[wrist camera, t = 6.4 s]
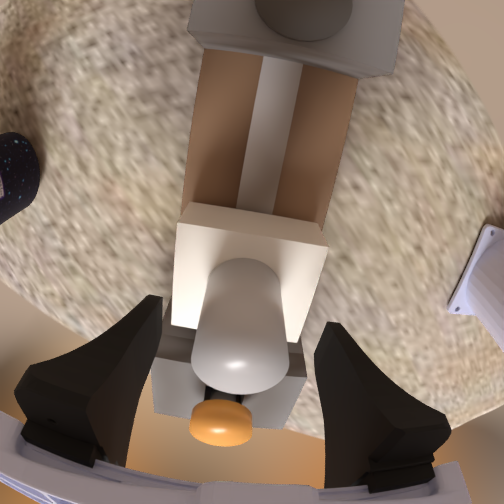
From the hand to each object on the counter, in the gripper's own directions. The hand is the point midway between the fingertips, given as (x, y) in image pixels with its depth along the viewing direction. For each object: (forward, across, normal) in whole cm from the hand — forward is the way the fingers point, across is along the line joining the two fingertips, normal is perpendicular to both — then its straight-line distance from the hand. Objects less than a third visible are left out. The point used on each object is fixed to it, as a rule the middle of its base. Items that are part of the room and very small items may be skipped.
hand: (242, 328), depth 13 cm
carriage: (+6, 0, 0) cm, 6 cm away
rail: (+8, 0, -2) cm, 8 cm away
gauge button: (+2, 0, +8) cm, 8 cm away
